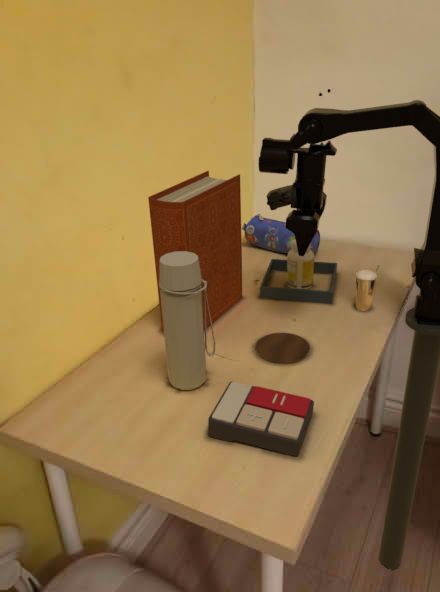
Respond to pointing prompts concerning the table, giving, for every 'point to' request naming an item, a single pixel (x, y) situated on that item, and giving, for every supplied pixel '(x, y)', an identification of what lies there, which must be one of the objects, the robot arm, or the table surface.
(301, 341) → the coaster
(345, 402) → the table surface
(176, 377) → the water bottle
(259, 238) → the pencil case
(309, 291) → the dark grey square frame
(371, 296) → the milkshake
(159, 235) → the book
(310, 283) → the pill bottle
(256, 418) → the button control box
